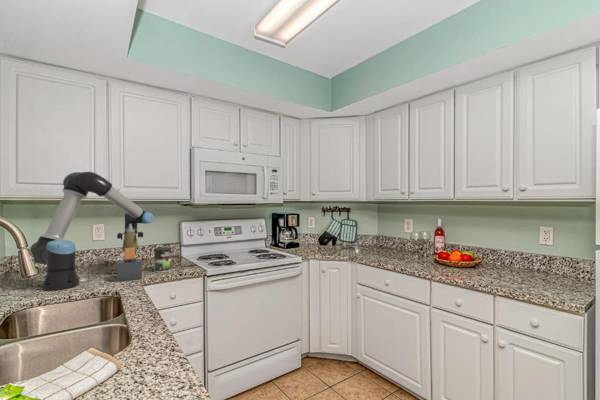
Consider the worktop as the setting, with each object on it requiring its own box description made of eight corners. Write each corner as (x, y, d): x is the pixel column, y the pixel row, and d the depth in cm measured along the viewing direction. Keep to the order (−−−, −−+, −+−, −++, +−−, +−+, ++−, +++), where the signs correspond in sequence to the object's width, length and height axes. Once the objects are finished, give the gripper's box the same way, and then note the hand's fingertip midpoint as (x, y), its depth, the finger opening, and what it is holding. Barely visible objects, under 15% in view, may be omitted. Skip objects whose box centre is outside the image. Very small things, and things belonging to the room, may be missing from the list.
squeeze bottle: (135, 254, 179) (134, 224, 179) (120, 255, 178) (120, 224, 178) (140, 252, 187) (139, 223, 187) (125, 252, 186) (125, 223, 186)
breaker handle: (123, 261, 171) (123, 248, 171) (124, 259, 174) (123, 248, 174) (135, 259, 173) (135, 248, 173) (135, 258, 177) (135, 247, 177)
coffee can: (174, 270, 193) (174, 248, 193) (159, 273, 185) (159, 250, 185) (166, 268, 199) (166, 246, 199) (150, 271, 191) (150, 248, 191)
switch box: (117, 281, 165) (117, 263, 165) (118, 278, 172) (117, 260, 172) (141, 279, 171) (141, 261, 171) (141, 276, 178) (141, 258, 178)
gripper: (147, 238, 203) (148, 242, 183) (113, 240, 194) (110, 244, 174) (147, 226, 203) (148, 229, 183) (113, 228, 194) (110, 231, 174)
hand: (130, 237), depth 179 cm, fingers closed on squeeze bottle, 6 cm apart
